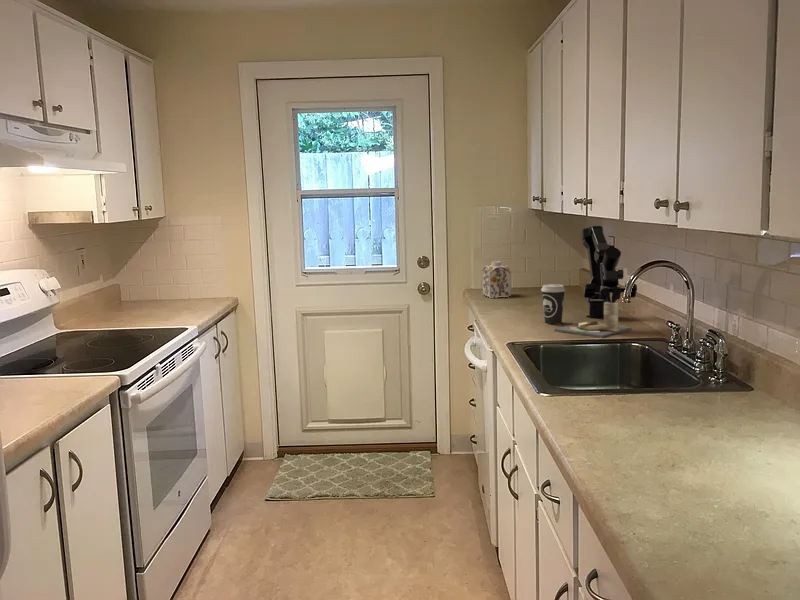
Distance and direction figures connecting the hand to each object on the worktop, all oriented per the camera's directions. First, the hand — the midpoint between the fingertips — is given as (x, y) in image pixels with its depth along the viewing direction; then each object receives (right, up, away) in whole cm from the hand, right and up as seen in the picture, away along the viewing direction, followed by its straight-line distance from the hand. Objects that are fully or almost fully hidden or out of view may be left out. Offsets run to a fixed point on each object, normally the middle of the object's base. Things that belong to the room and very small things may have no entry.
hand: (611, 308), depth 254 cm
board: (-6, -8, +3) cm, 10 cm away
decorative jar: (-29, +5, +98) cm, 103 cm away
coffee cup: (-17, -6, +21) cm, 27 cm away
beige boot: (-6, -7, -1) cm, 10 cm away
